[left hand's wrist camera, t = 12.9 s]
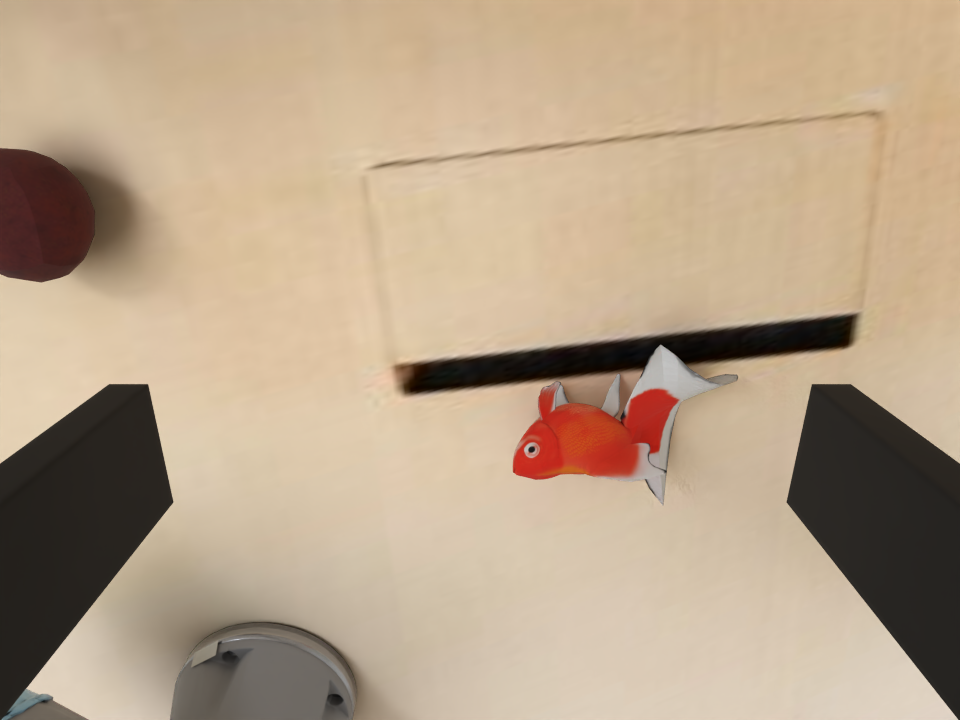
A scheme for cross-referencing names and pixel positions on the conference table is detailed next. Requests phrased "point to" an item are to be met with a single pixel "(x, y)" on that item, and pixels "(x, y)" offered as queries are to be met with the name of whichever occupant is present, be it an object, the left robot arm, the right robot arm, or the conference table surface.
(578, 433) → the fish
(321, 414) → the conference table surface
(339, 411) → the conference table surface
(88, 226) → the potato
